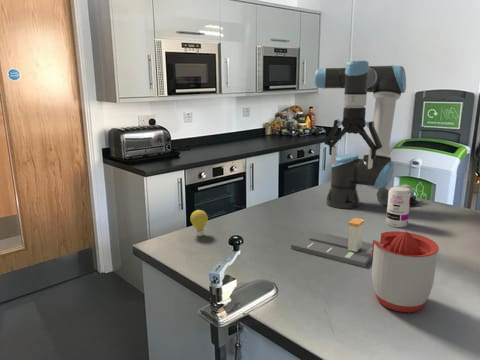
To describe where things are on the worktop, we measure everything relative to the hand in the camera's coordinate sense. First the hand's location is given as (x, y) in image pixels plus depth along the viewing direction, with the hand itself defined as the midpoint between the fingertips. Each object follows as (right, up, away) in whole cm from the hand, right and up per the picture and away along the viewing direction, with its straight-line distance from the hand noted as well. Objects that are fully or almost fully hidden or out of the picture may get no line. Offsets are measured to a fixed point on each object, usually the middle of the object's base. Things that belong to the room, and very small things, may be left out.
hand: (351, 166), depth 144 cm
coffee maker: (+26, -13, +38) cm, 48 cm away
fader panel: (-7, -29, -6) cm, 31 cm away
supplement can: (+23, -23, +16) cm, 37 cm away
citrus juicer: (+2, -38, -38) cm, 53 cm away
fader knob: (-2, -28, -10) cm, 30 cm away
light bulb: (-56, -27, +8) cm, 62 cm away
